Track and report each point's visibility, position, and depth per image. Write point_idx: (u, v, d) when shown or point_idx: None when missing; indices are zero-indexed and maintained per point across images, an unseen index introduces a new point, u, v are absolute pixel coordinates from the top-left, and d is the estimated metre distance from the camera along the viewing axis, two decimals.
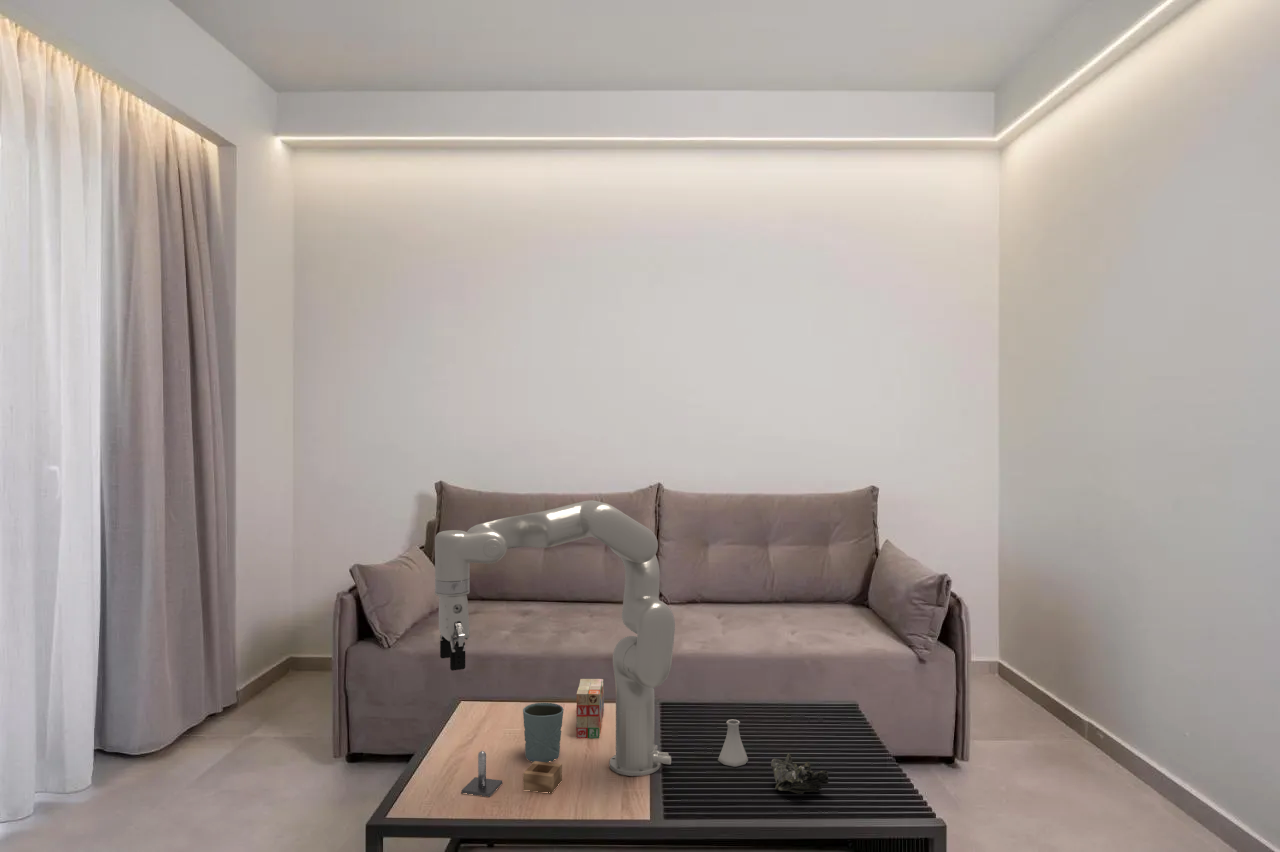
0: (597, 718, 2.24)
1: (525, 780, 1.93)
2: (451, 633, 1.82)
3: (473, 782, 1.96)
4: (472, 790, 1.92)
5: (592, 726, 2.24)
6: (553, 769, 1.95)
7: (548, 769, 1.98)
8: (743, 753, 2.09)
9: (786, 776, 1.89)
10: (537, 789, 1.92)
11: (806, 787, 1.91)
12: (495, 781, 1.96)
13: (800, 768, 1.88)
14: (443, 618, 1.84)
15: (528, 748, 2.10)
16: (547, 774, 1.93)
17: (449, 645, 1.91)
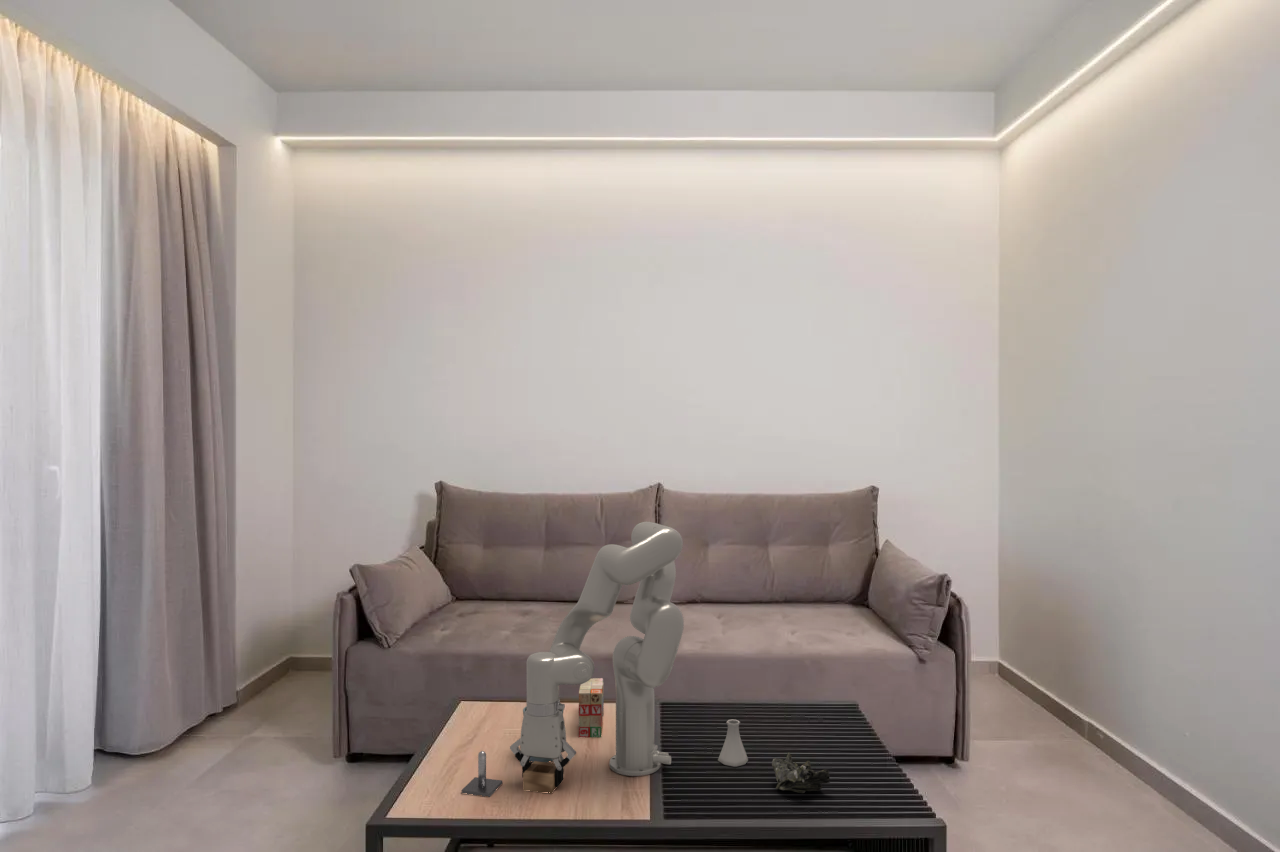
0: (599, 717, 2.25)
1: (525, 780, 1.93)
2: (560, 753, 1.93)
3: (473, 782, 1.96)
4: (472, 790, 1.92)
5: (594, 725, 2.25)
6: (553, 769, 1.95)
7: (548, 769, 1.98)
8: (743, 753, 2.09)
9: (788, 775, 1.90)
10: (537, 789, 1.92)
11: (807, 786, 1.91)
12: (495, 781, 1.96)
13: (802, 767, 1.89)
14: (546, 739, 1.93)
15: None
16: (547, 774, 1.93)
17: None
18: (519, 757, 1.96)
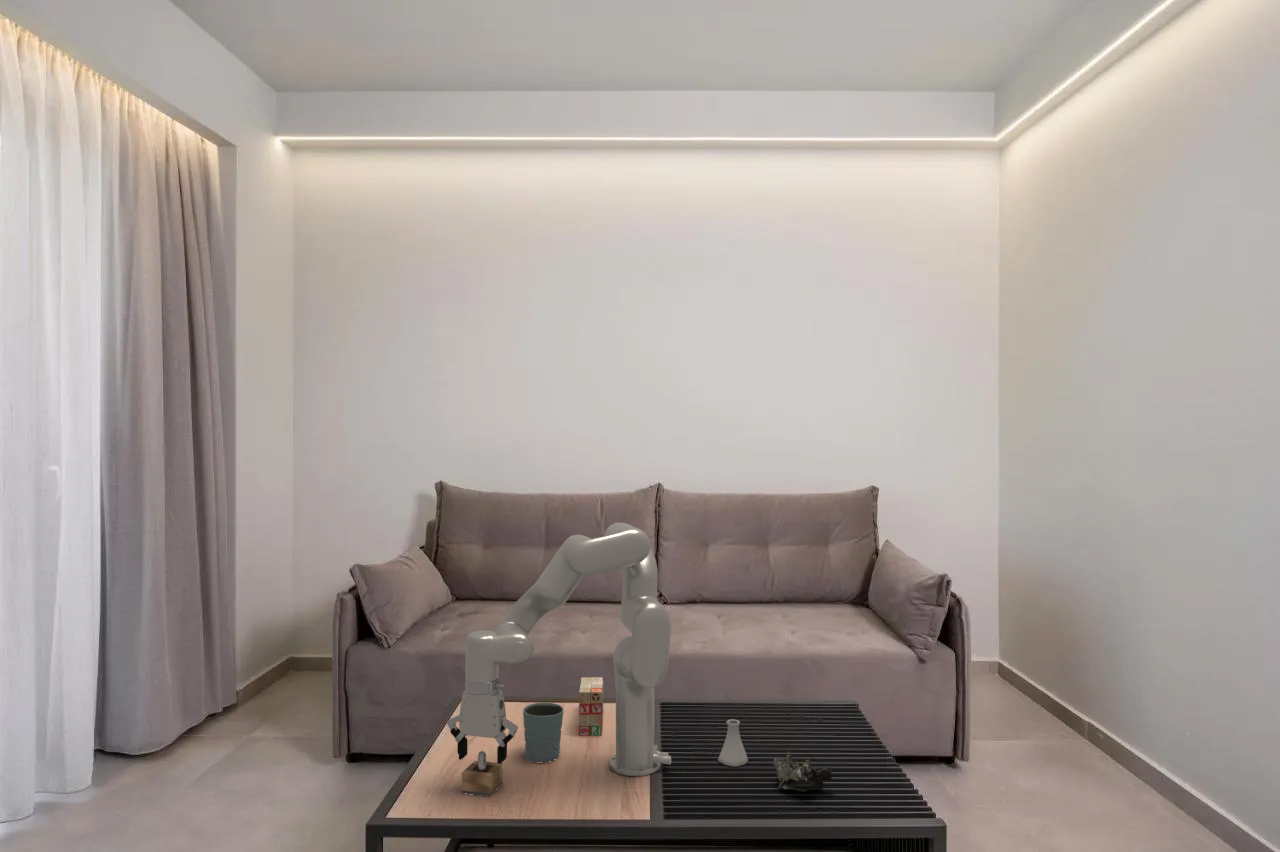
0: (600, 716, 2.26)
1: (464, 780, 1.91)
2: (499, 729, 1.91)
3: None
4: None
5: (594, 724, 2.26)
6: (493, 768, 1.94)
7: (488, 768, 1.96)
8: (743, 753, 2.09)
9: (791, 774, 1.90)
10: (476, 789, 1.91)
11: (810, 785, 1.92)
12: None
13: (805, 766, 1.89)
14: (485, 717, 1.91)
15: (528, 748, 2.10)
16: (486, 773, 1.91)
17: (465, 744, 1.96)
18: (454, 733, 1.95)
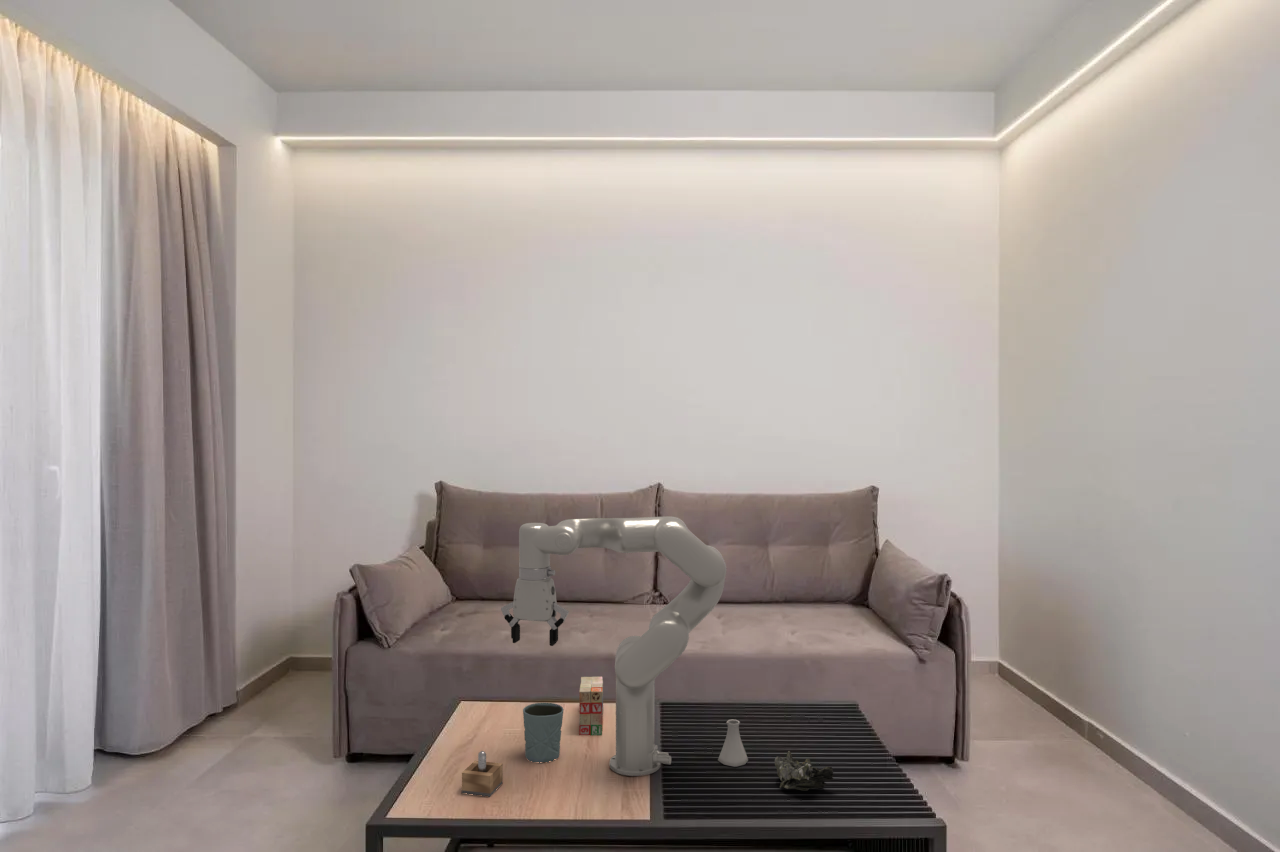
0: (600, 715, 2.26)
1: (464, 780, 1.91)
2: (551, 613, 2.04)
3: None
4: None
5: (595, 723, 2.26)
6: (493, 768, 1.94)
7: (488, 768, 1.96)
8: (743, 753, 2.09)
9: (793, 774, 1.91)
10: (476, 789, 1.91)
11: (811, 784, 1.92)
12: None
13: (807, 765, 1.90)
14: (538, 602, 2.04)
15: (528, 748, 2.10)
16: (486, 773, 1.91)
17: (518, 630, 2.08)
18: (508, 619, 2.07)
